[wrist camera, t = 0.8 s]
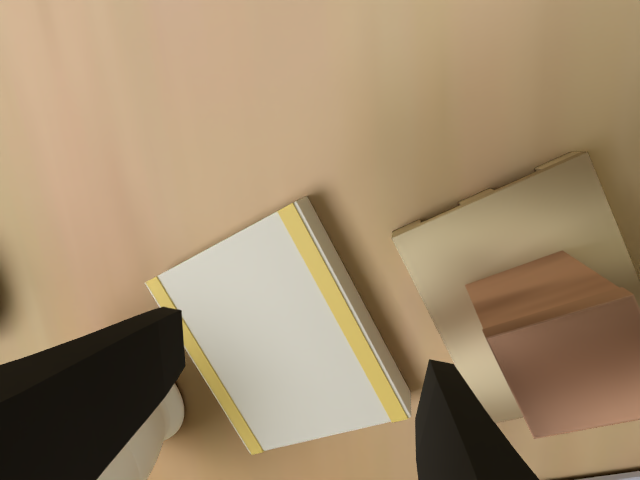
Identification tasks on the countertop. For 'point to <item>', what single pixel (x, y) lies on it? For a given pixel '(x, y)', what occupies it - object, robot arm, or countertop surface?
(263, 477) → the countertop surface
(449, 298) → the beige rectangular slab
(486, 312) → the brown cube
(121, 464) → the jar
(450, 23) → the countertop surface
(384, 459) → the countertop surface
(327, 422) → the dock
